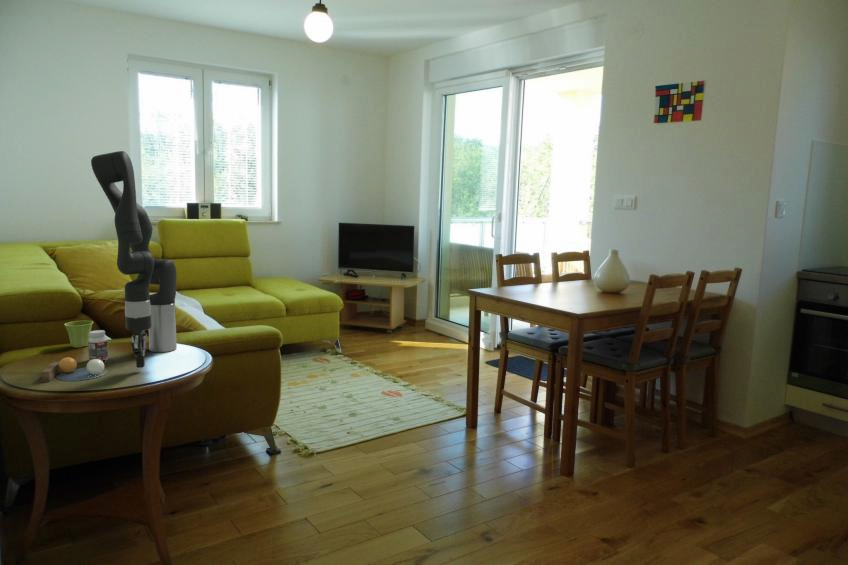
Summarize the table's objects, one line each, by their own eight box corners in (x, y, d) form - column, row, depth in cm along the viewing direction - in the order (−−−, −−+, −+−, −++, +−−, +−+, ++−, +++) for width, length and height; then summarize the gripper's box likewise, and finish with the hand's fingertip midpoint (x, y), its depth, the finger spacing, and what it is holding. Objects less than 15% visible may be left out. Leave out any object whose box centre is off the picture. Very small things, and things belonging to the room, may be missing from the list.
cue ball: (91, 370, 197) (90, 356, 195) (107, 371, 197) (106, 356, 196) (84, 377, 192) (82, 362, 191) (100, 378, 192) (99, 363, 191)
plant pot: (61, 349, 223) (60, 326, 222) (71, 343, 232) (69, 320, 231) (90, 348, 225) (88, 325, 224) (98, 342, 234) (96, 320, 233)
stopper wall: (54, 370, 197) (53, 361, 197) (61, 370, 198) (60, 361, 198) (42, 381, 186) (41, 372, 186) (49, 381, 187) (48, 371, 186)
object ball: (66, 374, 198) (58, 360, 197) (81, 367, 198) (74, 353, 198) (61, 377, 193) (53, 363, 192) (76, 369, 194) (68, 355, 193)
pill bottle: (100, 362, 207) (98, 334, 206) (85, 361, 208) (83, 333, 207) (111, 358, 213) (110, 330, 212) (97, 357, 214) (95, 329, 213)
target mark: (64, 369, 199) (63, 368, 199) (111, 367, 203) (111, 366, 203) (50, 382, 186) (50, 381, 186) (101, 379, 189) (101, 379, 189)
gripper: (129, 310, 201) (131, 362, 204) (120, 318, 189) (123, 373, 191) (154, 309, 203) (156, 361, 206) (147, 317, 191) (149, 372, 193)
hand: (140, 366), depth 198 cm, fingers closed
